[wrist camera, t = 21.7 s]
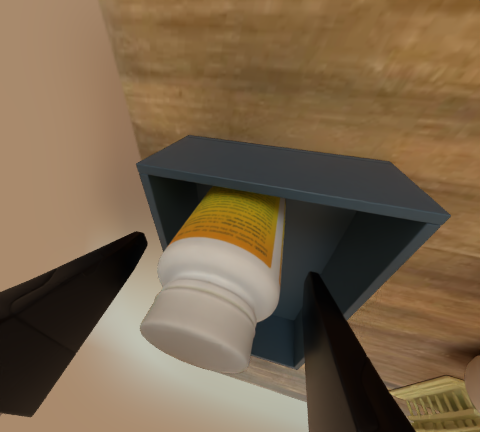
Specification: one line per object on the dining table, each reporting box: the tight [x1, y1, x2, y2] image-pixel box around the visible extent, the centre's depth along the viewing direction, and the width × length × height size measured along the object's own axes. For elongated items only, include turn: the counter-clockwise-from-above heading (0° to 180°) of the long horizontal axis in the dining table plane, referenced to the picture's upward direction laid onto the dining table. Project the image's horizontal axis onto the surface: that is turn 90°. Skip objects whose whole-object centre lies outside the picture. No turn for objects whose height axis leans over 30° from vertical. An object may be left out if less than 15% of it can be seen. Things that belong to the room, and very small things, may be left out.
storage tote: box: [136, 135, 451, 370], centre depth 16 cm, size 22×13×6 cm, turn 176°
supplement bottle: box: [140, 186, 286, 373], centre depth 10 cm, size 6×6×10 cm
